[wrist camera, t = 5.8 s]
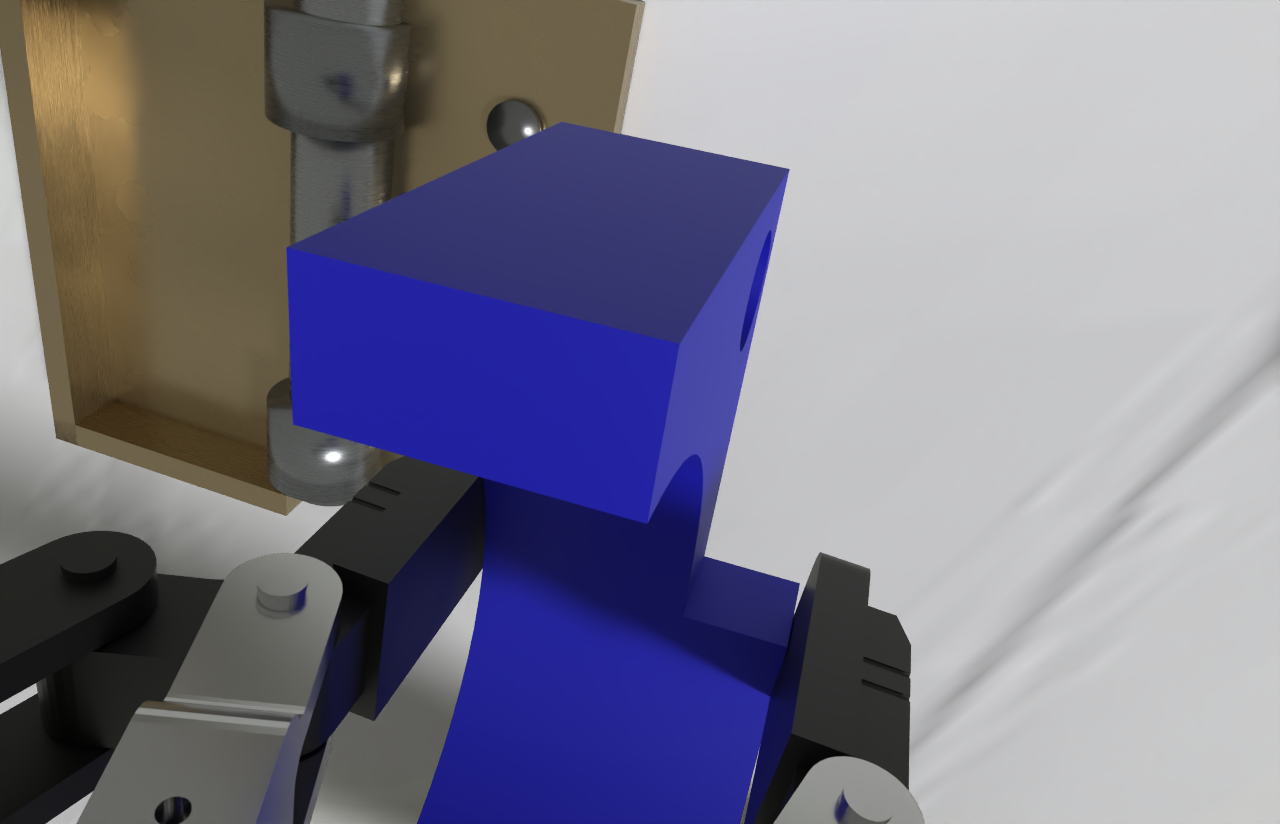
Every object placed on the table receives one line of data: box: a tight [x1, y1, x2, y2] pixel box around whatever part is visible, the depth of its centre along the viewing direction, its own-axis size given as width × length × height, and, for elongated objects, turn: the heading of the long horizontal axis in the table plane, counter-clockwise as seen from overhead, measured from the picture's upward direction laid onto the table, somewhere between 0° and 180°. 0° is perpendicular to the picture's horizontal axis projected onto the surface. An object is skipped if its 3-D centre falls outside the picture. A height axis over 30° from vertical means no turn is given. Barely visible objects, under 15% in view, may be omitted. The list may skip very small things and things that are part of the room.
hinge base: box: [0, 0, 645, 516], centre depth 26 cm, size 16×17×3 cm
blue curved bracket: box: [286, 122, 800, 824], centre depth 12 cm, size 12×4×6 cm, turn 172°
